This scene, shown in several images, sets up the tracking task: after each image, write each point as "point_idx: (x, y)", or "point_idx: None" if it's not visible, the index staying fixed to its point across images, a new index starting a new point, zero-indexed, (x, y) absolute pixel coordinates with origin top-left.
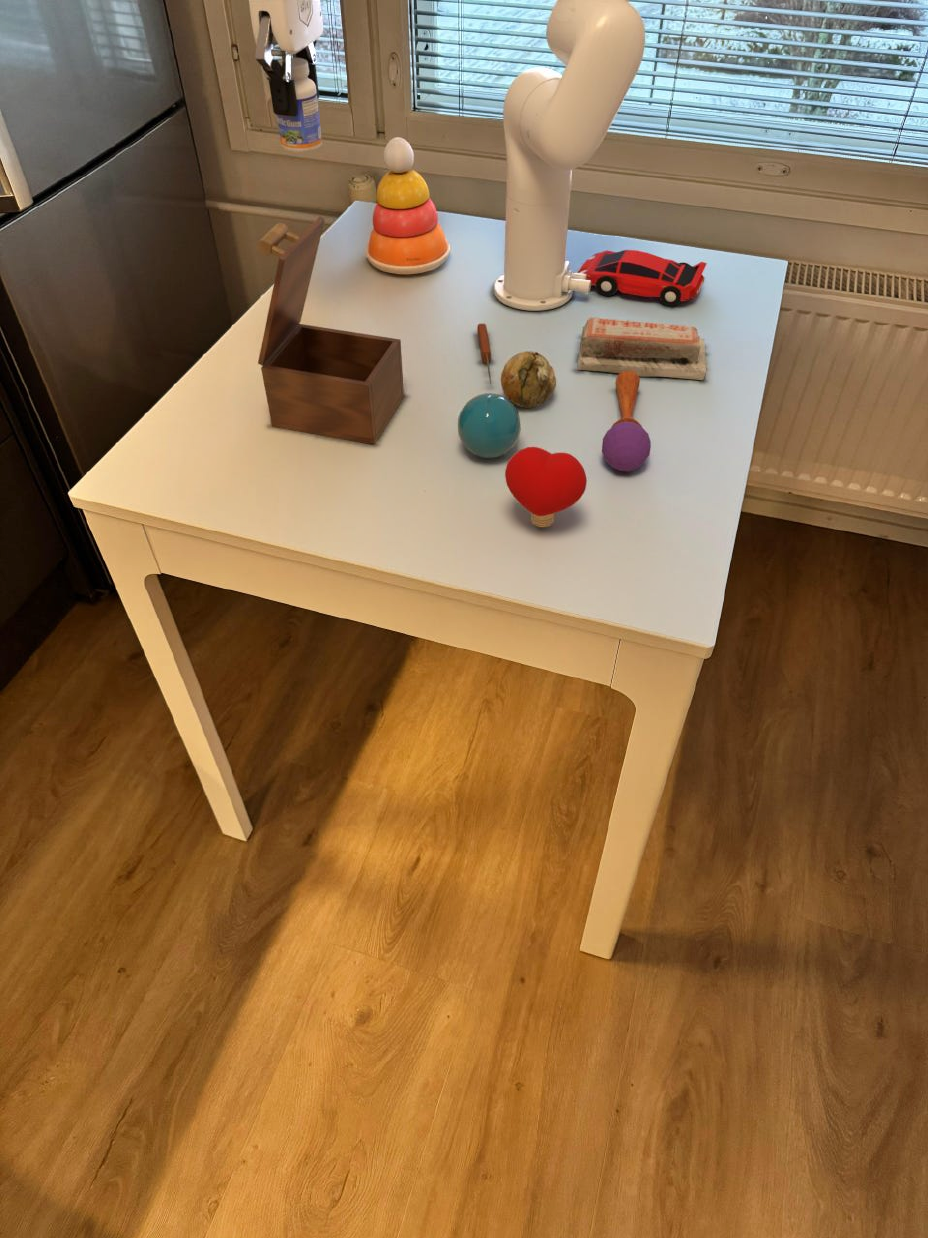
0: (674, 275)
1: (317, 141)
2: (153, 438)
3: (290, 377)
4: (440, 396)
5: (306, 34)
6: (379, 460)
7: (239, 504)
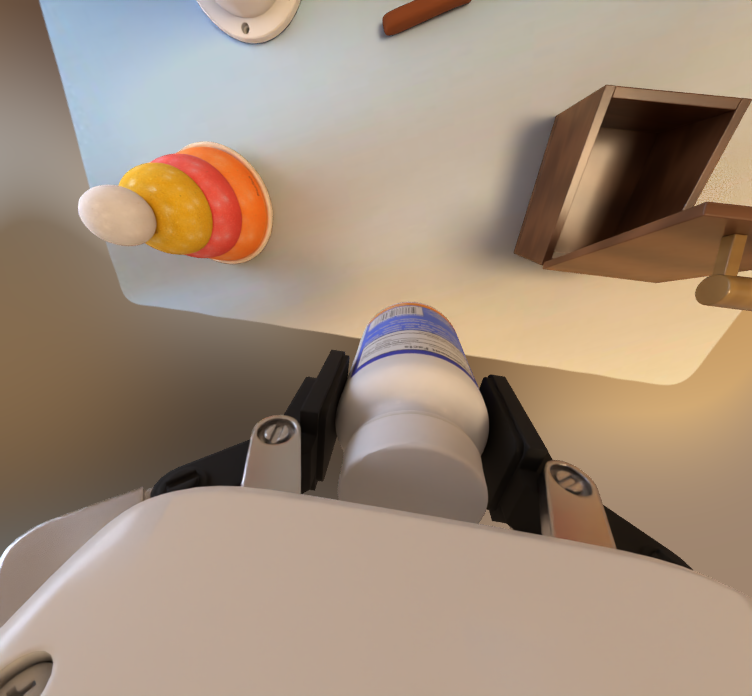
0: None
1: (428, 308)
2: (606, 361)
3: None
4: (557, 56)
5: (516, 623)
6: None
7: None
